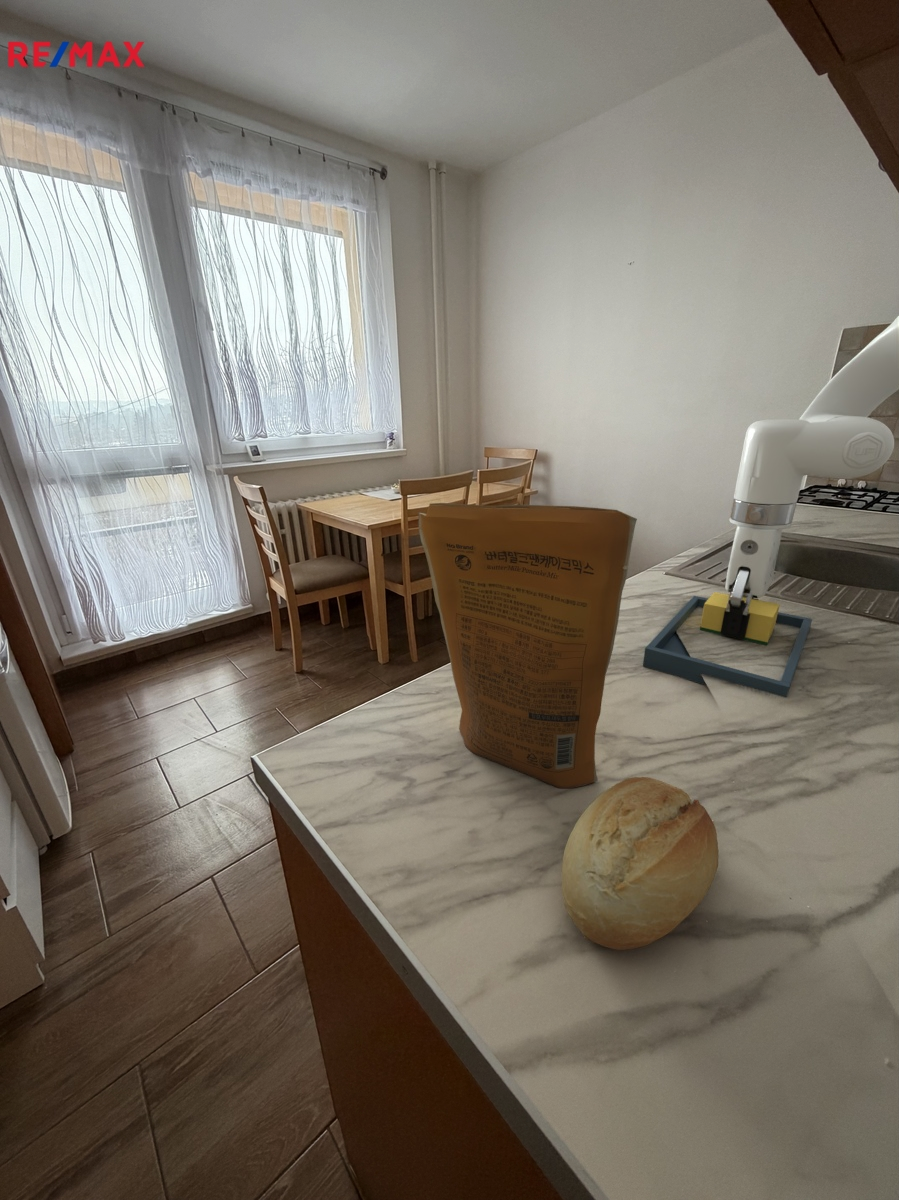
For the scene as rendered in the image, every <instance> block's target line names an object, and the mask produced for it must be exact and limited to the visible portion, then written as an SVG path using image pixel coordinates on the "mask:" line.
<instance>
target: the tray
mask: <svg viewBox="0 0 899 1200" xmlns="http://www.w3.org/2000/svg"><path fill="white" fill-rule="evenodd" d="M708 599H709V598H707V597H703V596H698V595H693V596H692V598H691V599H690V600H688V601H687V603H686V604H685V605H684V606H683V607H682V608H681V609H680V610H679V611H678V612H677V613H676V614H675V615H674V616H673V618H672V619H671V620H670V621H669V622H668V623H667V624H666V625H665V626H664V627H663V628H662V629H661V630H660V631H659V633H658V634H657V635H656V636H655V637H653V639H652V640H651V641H650V642H649V643H648V644H647V645H646V647H645V648H644V653H643V662H642V667H644V668H647V669H651V670H654V671H657V672H660V673H664V674H667V675H671V676H673V677H677V678H681V679H683V680H688V681H690V682H695V683H697V684H701V685H704V686H708V685H707V682H706V680H705V679H704V677H703V676H702V675H704V676H705V675H706V676H708V677H713V678H717V679H718V680H719V679H720V680H722V681H726V682H731V683H734V684H738V685H740V686H743V687H747V688H751V689H755V690H758V691H762V692H765V693H769V694H772V695H775V696H779V697H783V698H787V697H788V694H789V691H790V688H791V685H792V683H793V679H794V677H795V673H796V670H797V667H798V665H799V661H800V659H801V655H802V653H803V650H804V646H805V644H806V641H807V637H808V634H809V633H810V629H811V625H812V622H813V618H810V617H806V616H799V615H794V614H790V613H784V612H779V611H778V614H777V619H776V623H775V624H780V625H784V626H791V627H795V628H799V631H798V634H797V637H796V639H795V642H794V644H793V647H792V650H791V652H790V655H789V658H788V660H787V662H786V666H785V668H784V671H783V673H782V676H781V679H780V680H778V679H774V678H770V677H767V676H764V675H760V674H756V673H752V672H749V671H745V670H741V669H737V668H735V667H730V666H726V665H723V664H719V663H715V662H711V661H707V660H704V659H700V658H696V657H693V656H691V655H690V653H689V651H688V650H687V648H686V647H685V644H684V643H683V641H682V639H681V637H680V636H679V634H678V632H677V630H678V629H679V628H680V627H681V626H682V625H683V624H684V622H685V621H686V620H687V619H688V618H689V616H691V614H693V612H694V611H695V610H696V608H697V607H698V608H703V609H704V604H705V602H706V601H707V600H708Z"/></svg>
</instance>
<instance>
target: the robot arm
mask: <svg viewBox="0 0 899 1200" xmlns="http://www.w3.org/2000/svg"><path fill="white" fill-rule="evenodd" d="M897 391H899V315H898V316H896V318H895V319H894V320H893V321H892V323H891V324H889V325H888V326H887V327H886V328H885V329H884V330H883V331H882V332H880V333H879V334H877V336H876V337H874V338H873V339H872V340H871V341H869V343H868V344H867V345H866V346H865V347H864V348H862V350H860V351H859V352H858V353H857V354H856V355H855V356H854V357H853V358H852V359H851V360H850V361H848V362H847V363H846V364H845V365H844V366H843V367H842V368H841V369H840V370H839V371H838V372H836V374H835V375H834V376H833V377H832V378H831V379H829V380H828V382H827V383H826V384H825V385H824V386H823V388H822V389H821V390H820V391H819V392H818V393H817V395H816V396H815V397H814V398H813V400H812V401H811V402H810V404H809V406H808V407H806V409H805V410H804V412H803V413H802V414H801V416H800V417H799V418H798V419H797V418H776V419H775V418H774V419H773V418H771V419H770V418H769V419H761V420H757V421H754V422H752V423H751V424H750V425H749V426H748V427H747V429H746V431H745V435H744V441H743V446H742V451H741V457H740V462H739V467H738V472H737V478H736V483H735V488H734V494H733V499H732V505H731V510H730V515H729V523H731V524H732V525H735V526H736V528H735V532H734V538H733V542H732V547H731V551H730V556H729V561H728V566H727V572H726V579H725V584H724V585H725V587H724V588H725V590H726V592H727V593H729V594H728V595H729V599H728V603H727V607H726V609H725V612H724V617H723V622H722V627H721V634H722V635H721V636H724V635H725V636H724V637H728V636H729V638H732V637H734V638H733V639H737V638H738V639H737V640H741V639H744V638H745V635H746V631H747V626H748V622H749V617H750V614H748V611H749V607H750V604H751V600H752V599H755V600H760V599H761V598H763V597H765V595H766V594H767V592H768V591H769V589H770V587H771V586H772V583H773V580H774V575H775V571H776V565H777V560H778V555H779V551H780V545H781V541H782V534H783V530H784V529H789V528H791V527H792V524H793V520H794V515H795V512H796V507H797V503H798V500H799V496H800V491H801V487H802V482H803V478H804V477H805V476H813V477H821V478H830V479H836V480H837V479H839V480H848V479H849V480H851V479H857V478H861V477H864V476H867V475H869V474H872V473H874V472H876V471H877V470H878V469H880V468H881V467H883V466H884V465H885V464H886V463H887V462H888V460H889V459H890V458H891V456H892V454H893V452H894V448H895V437H894V435H893V431H892V430H891V429H890V428H889V427H888V426H887V425H886V424H885V423H884V422H881V421H879V419H878V420H877V419H875V418H872V417H869V416H870V415H871V414H872V412H874V411H875V410H876V409H877V408H878V407H879V406H880V405H881V404H882V403H883V402H885V400H887V399H888V398H889V397H891V396H892V395H893V394H894V393H896V392H897ZM743 597H745V598H747V599H746V603H745V601H744V600H742V599H743Z"/></svg>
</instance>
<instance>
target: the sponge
mask: <svg viewBox="0 0 899 1200" xmlns="http://www.w3.org/2000/svg"><path fill="white" fill-rule="evenodd" d="M729 595H730V594H727V593H723V592H716V591H713V593H711V595H710V597H709V598H708V600H707V601H706V602H705V604H704V608H703V609H702V616H701V620H700V621H701V622H700V627H699V630H700V631H701V632H702V631H703V632H706V633H707V632H708V633H712V634H715V635H720V636H724V637H726V636H725V635H722V634H721V627H722V622H723V617H724V612H725V609H726V607H727V603H728V599H729ZM746 599H747V598H745V597H743V599H742V600H744V601H745V603H746ZM755 599H756V598H753V599H752V600H751V604H750V607H749V611H748V614H750V617H749V622H748V626H747V631H746V635H745V638H744V639H740V640H741V641H745V642H750V643H754V644H759V645H763V646H768V644H769V642H770V639H771V638H772V635H773V633H774V630H775V626H776V624H777V623H776V619H777V614H778V612H779V610H780V605H781V604H780V603H776V602H771V601H767V600H766V601H765V600H760V599H759V600H755ZM727 637H729V636H727ZM729 638H730V637H729ZM731 638H732V639H735V638H734V637H731ZM736 639H737V640H739V639H738V638H736Z"/></svg>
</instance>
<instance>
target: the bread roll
mask: <svg viewBox="0 0 899 1200" xmlns="http://www.w3.org/2000/svg"><path fill="white" fill-rule="evenodd" d="M718 841H719V840H718V833H717V829H716V826H715V823H714V821H713V819H712V818H711V816H710V814H709V813H708V810H707V809H706V808H705V807H704V806H703V805H702V804H701V803H700V802H699V800H698V799H693V801H692V799H691V796H690V795H689V794H688V793H687V792H686V791H684V790H683V789H681V788H680V787H677V786H674V785H673V784H672V785H671V784H669V783H667V782H665V781H662V780H659V779H655V778H652V777H649V776H639V777H638V776H635V777H628V778H626V779H624V780H621V781H620V782H618V783H616V784H614V785H612V786H611V787H609V788H607V789H606V790H605V791H603V792H602V793H601V794H599V795H598V796H597V797H596V798H595V799H594V800H593V801H592V802H591V803H590V804H589V805H588V806H587V807H586V808H585V809H584V811H583V812H582V813H581V815H580V816H579V818H578V819H577V821H576V823H575V825H574V826H573V829H572V830H571V832H570V834H569V836H568V838H567V842H566V845H565V847H564V852H563V857H562V863H561V893H562V898H563V903H564V908H565V910H566V912H567V913H568V915H569V917H570V918H571V920H572V922H573V923H574V925H575V927H576V928H577V929H578V930H579V931H580V933H581V934H582V935H583V938H584V939H588V940H590V941H591V942H592V943H594V944H598V945H600V946H602V947H606V948H607V949H608V948H609V949H613V950H619V951H621V950H629V949H630V950H631V949H637V948H641V947H644V946H648V945H650V944H652V943H654V942H656V941H657V940H659V939H661V938H664V937H665V936H666V935H668V934H669V933H671V932H673V930H675V929H676V927H678V926H679V925H680V924H681V923H682V922H683V921H684V920H685V919H686V918H688V916H689V915H691V914H692V912H693V911H694V910H695V909H697V907H698V906H699V905H700V903H701V902H702V901H703V899H704V898H705V896H706V895H707V893H708V891H709V890H710V889H711V885H712V883H713V881H714V879H715V876H716V874H717V871H718V867H719V843H718Z"/></svg>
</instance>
